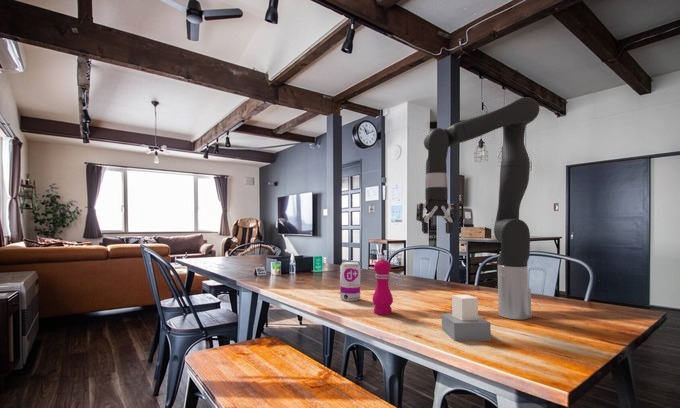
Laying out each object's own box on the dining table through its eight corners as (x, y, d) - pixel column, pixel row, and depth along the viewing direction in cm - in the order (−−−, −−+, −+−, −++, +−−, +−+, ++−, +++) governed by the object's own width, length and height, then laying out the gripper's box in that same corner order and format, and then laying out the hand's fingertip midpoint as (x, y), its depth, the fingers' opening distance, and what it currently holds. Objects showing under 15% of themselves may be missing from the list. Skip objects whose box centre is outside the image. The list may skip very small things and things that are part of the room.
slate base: (474, 330, 103) (474, 313, 104) (490, 341, 93) (490, 322, 94) (441, 330, 103) (441, 313, 103) (454, 342, 93) (454, 323, 93)
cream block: (467, 315, 102) (467, 294, 102) (478, 319, 97) (477, 297, 97) (452, 316, 100) (452, 295, 101) (462, 320, 95) (462, 298, 96)
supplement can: (360, 301, 139) (360, 264, 140) (340, 301, 139) (340, 264, 140) (359, 297, 147) (359, 261, 148) (340, 297, 147) (340, 261, 148)
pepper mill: (392, 315, 118) (392, 256, 119) (371, 314, 119) (371, 256, 121) (393, 310, 125) (393, 255, 126) (373, 309, 126) (373, 254, 128)
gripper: (449, 188, 126) (449, 233, 125) (412, 187, 122) (413, 233, 122) (460, 186, 118) (461, 233, 117) (422, 185, 115) (423, 234, 114)
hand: (436, 233), depth 119 cm, fingers open, 8 cm apart
